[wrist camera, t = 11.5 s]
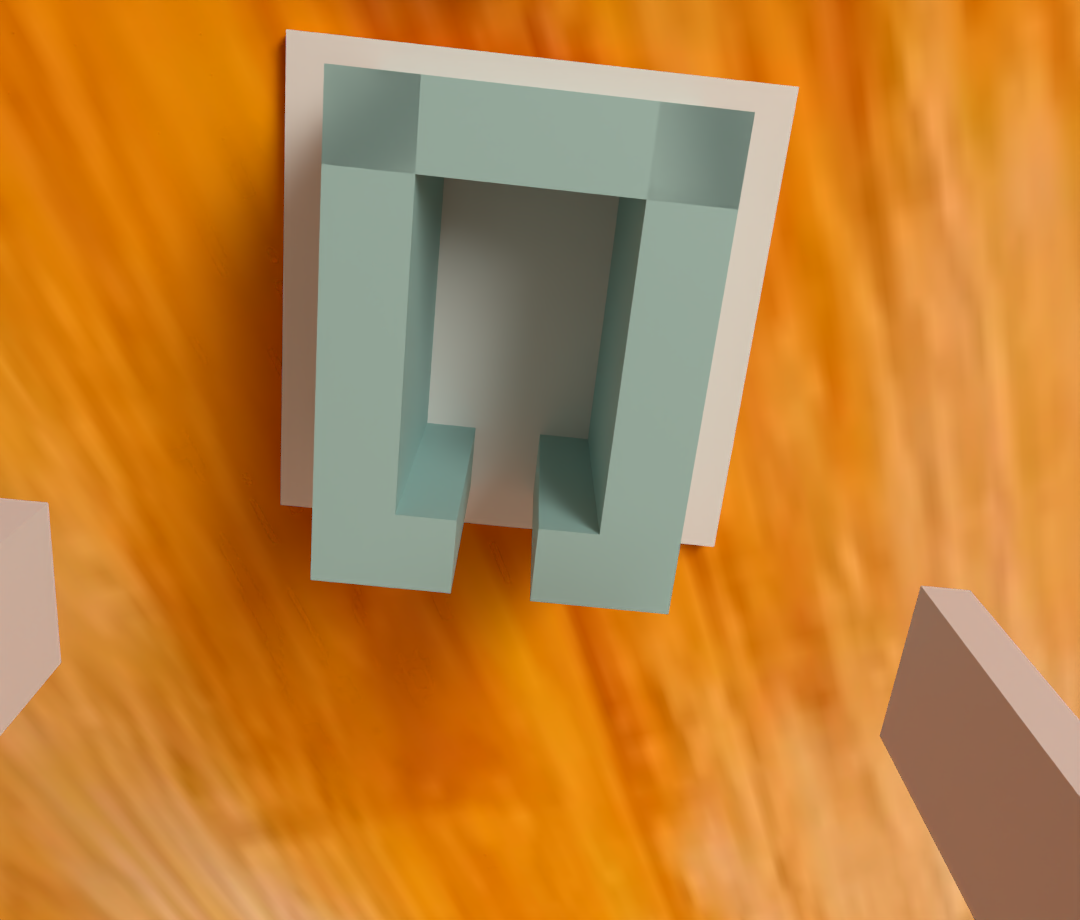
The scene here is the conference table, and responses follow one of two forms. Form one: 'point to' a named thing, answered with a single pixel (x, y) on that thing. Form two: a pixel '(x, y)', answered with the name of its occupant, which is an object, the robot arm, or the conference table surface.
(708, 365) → the green u-shaped block
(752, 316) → the mat
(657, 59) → the conference table surface
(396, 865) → the conference table surface
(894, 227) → the conference table surface
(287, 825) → the conference table surface
